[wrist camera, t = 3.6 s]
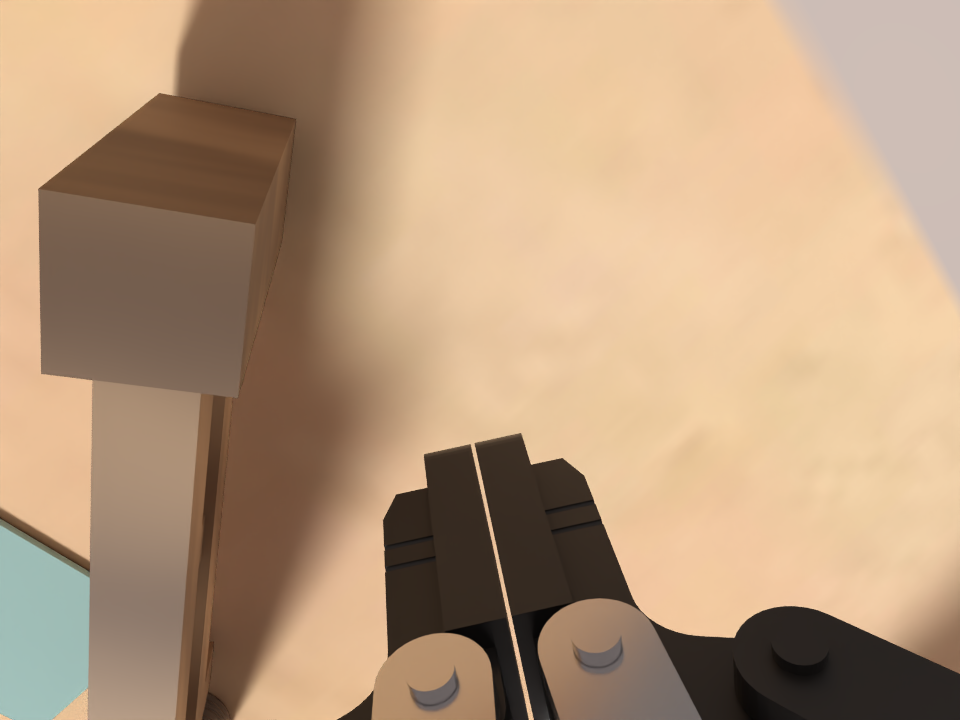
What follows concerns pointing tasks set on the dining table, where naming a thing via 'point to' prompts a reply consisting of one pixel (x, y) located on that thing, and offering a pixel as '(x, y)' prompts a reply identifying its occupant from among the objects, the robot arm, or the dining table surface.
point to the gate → (160, 370)
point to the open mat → (40, 628)
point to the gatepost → (215, 709)
